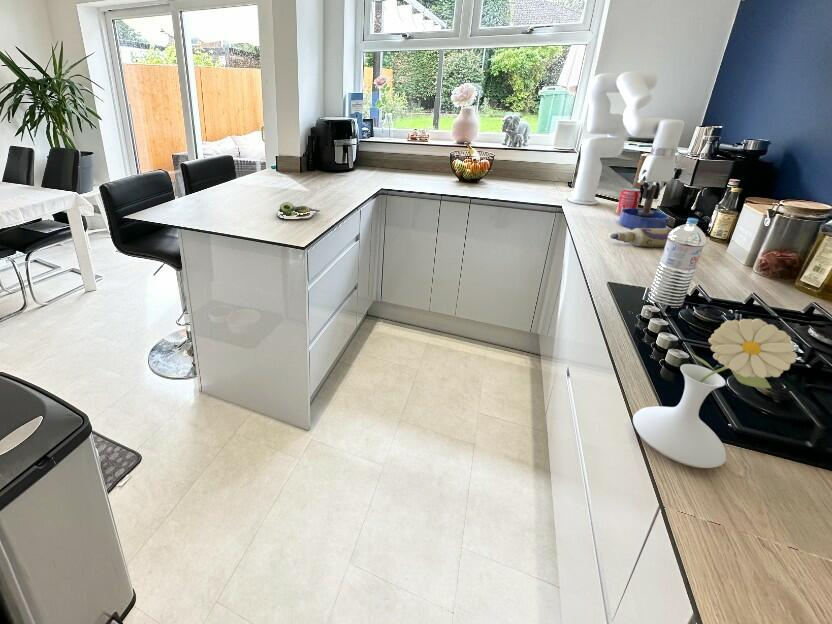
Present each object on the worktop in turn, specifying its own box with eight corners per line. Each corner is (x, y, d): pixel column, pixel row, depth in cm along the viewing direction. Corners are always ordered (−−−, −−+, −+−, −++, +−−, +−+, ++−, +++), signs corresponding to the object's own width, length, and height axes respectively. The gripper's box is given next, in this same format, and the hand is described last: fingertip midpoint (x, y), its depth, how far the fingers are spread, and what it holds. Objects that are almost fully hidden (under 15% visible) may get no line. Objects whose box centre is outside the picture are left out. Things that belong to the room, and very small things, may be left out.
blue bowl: (610, 220, 172) (613, 208, 170) (645, 220, 172) (649, 208, 170) (636, 232, 158) (640, 219, 156) (674, 232, 157) (678, 219, 155)
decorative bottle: (678, 243, 146) (684, 226, 144) (693, 251, 139) (700, 233, 137) (602, 240, 150) (607, 223, 147) (613, 247, 143) (618, 230, 140)
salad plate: (320, 209, 190) (320, 200, 189) (319, 220, 174) (318, 210, 172) (280, 209, 191) (280, 199, 190) (275, 220, 175) (274, 210, 173)
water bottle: (662, 304, 105) (693, 214, 97) (685, 318, 99) (721, 223, 90) (637, 305, 105) (666, 214, 96) (659, 318, 99) (692, 223, 90)
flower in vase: (616, 433, 66) (662, 302, 57) (648, 407, 72) (694, 283, 63) (720, 498, 56) (795, 350, 47) (748, 461, 61) (820, 322, 52)
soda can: (628, 213, 181) (635, 187, 177) (638, 217, 175) (646, 191, 171) (611, 212, 182) (618, 187, 178) (621, 217, 176) (628, 190, 171)
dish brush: (632, 219, 166) (642, 183, 161) (644, 219, 166) (655, 183, 161) (641, 222, 161) (652, 186, 156) (654, 222, 161) (665, 186, 156)
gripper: (675, 151, 157) (662, 196, 164) (634, 151, 157) (622, 196, 164) (692, 153, 150) (677, 201, 157) (649, 154, 150) (636, 201, 157)
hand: (649, 198), depth 160 cm, fingers closed on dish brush, 2 cm apart
